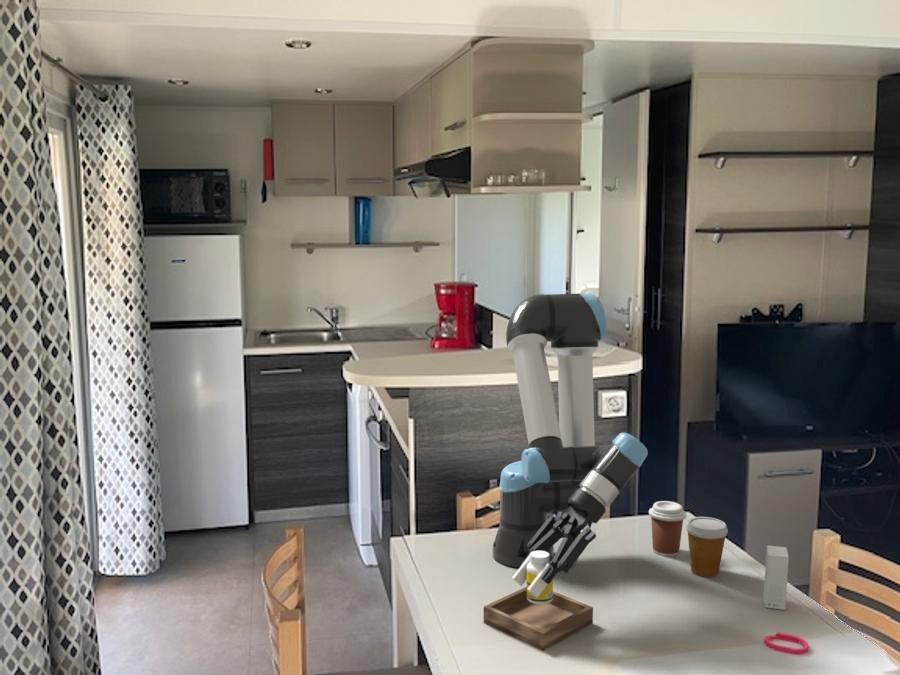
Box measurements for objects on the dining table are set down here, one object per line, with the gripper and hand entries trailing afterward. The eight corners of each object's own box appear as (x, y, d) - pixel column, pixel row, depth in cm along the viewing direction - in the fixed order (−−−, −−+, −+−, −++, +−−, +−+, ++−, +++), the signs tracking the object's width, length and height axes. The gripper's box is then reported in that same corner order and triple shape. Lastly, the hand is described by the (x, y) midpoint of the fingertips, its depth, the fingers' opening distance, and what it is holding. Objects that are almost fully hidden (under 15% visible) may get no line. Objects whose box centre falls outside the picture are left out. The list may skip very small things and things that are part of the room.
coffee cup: (647, 556, 212) (649, 510, 210) (647, 542, 221) (648, 498, 219) (685, 560, 210) (687, 513, 208) (683, 546, 219) (685, 500, 217)
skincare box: (785, 610, 184) (789, 557, 182) (764, 608, 185) (767, 555, 183) (783, 598, 190) (786, 546, 188) (763, 596, 191) (766, 544, 189)
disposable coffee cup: (727, 581, 198) (730, 532, 196) (685, 578, 200) (687, 529, 198) (723, 565, 207) (725, 517, 205) (682, 561, 209) (684, 514, 207)
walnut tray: (483, 622, 178) (483, 606, 178) (533, 598, 190) (533, 583, 189) (543, 650, 167) (543, 633, 167) (592, 623, 178) (593, 607, 178)
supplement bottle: (524, 594, 179) (524, 549, 178) (549, 593, 180) (550, 548, 178) (528, 605, 174) (529, 559, 173) (555, 604, 174) (555, 558, 173)
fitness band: (809, 644, 170) (809, 637, 170) (807, 658, 165) (807, 651, 165) (765, 636, 174) (766, 629, 173) (762, 649, 168) (763, 642, 168)
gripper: (630, 522, 173) (560, 615, 168) (577, 495, 189) (512, 580, 184) (609, 500, 170) (537, 595, 165) (557, 475, 186) (491, 561, 181)
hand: (524, 587), depth 175 cm, fingers closed on supplement bottle, 5 cm apart
